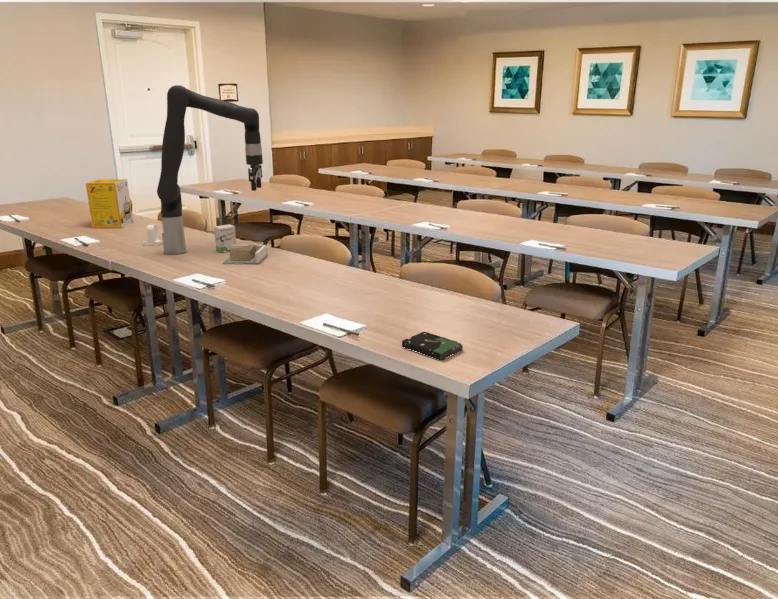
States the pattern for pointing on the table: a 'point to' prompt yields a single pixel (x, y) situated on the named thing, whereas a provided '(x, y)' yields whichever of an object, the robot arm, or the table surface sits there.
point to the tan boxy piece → (243, 253)
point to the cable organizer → (152, 236)
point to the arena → (259, 254)
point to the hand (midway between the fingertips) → (256, 189)
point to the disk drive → (432, 345)
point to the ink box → (224, 237)
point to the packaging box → (109, 203)
